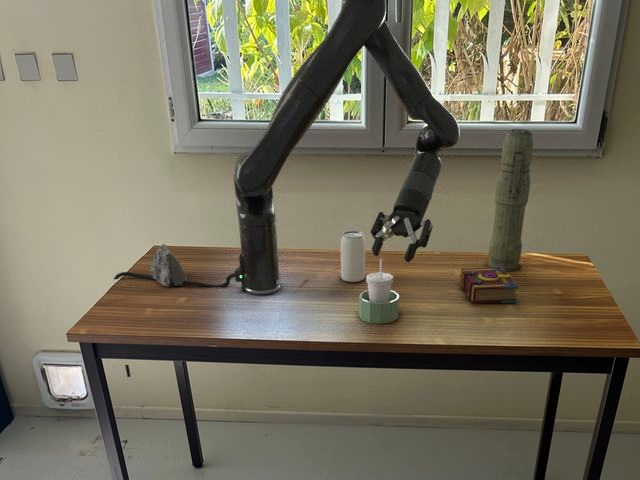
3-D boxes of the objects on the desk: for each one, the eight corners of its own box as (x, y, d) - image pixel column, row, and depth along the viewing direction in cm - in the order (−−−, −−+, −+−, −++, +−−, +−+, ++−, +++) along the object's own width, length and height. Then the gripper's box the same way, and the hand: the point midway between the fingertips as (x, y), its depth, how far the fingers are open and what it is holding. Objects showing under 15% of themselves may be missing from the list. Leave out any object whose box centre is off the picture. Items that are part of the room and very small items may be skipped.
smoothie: (373, 322, 165) (374, 264, 157) (360, 313, 170) (361, 256, 162) (396, 317, 167) (399, 260, 159) (383, 308, 172) (385, 252, 164)
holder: (356, 321, 165) (356, 301, 163) (363, 306, 173) (363, 287, 170) (395, 324, 164) (395, 304, 161) (400, 309, 171) (401, 290, 169)
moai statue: (513, 258, 202) (531, 126, 182) (523, 272, 193) (543, 134, 173) (483, 259, 202) (497, 126, 182) (491, 273, 193) (507, 135, 173)
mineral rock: (153, 272, 194) (147, 235, 188) (192, 271, 195) (187, 234, 189) (145, 288, 184) (138, 250, 178) (186, 287, 184) (180, 249, 179)
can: (364, 282, 187) (365, 237, 180) (340, 282, 187) (340, 237, 180) (364, 274, 192) (365, 230, 185) (341, 274, 192) (340, 230, 185)
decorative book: (471, 305, 173) (473, 285, 171) (457, 282, 187) (459, 264, 184) (516, 303, 174) (519, 284, 171) (499, 281, 187) (501, 262, 185)
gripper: (383, 183, 166) (359, 244, 164) (437, 190, 160) (413, 254, 158) (393, 201, 173) (369, 260, 171) (445, 209, 167) (422, 270, 165)
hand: (390, 257), depth 165 cm, fingers open, 8 cm apart
